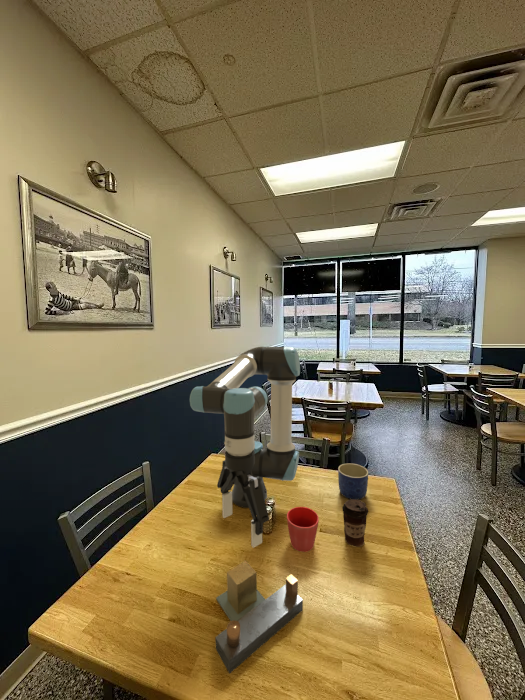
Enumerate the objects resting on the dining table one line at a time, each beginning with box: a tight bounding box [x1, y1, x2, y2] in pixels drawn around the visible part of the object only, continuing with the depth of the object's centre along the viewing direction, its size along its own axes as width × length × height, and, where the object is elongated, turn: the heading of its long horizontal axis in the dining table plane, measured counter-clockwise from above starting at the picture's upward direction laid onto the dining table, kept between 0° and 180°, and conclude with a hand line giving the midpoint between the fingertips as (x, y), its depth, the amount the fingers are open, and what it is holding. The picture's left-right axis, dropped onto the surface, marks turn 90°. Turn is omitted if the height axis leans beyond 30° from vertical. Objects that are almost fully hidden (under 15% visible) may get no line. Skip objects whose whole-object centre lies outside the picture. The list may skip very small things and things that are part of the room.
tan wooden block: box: [226, 560, 258, 614], centre depth 77 cm, size 6×5×8 cm
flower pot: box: [286, 506, 320, 553], centre depth 97 cm, size 11×11×10 cm
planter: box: [337, 463, 369, 500], centre depth 125 cm, size 12×12×11 cm
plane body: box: [214, 574, 304, 675], centre depth 70 cm, size 22×6×7 cm, turn 128°
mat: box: [215, 589, 266, 622], centre depth 77 cm, size 10×10×1 cm
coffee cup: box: [342, 499, 369, 548], centre depth 98 cm, size 9×8×13 cm
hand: (241, 529), depth 75 cm, fingers open, 13 cm apart
